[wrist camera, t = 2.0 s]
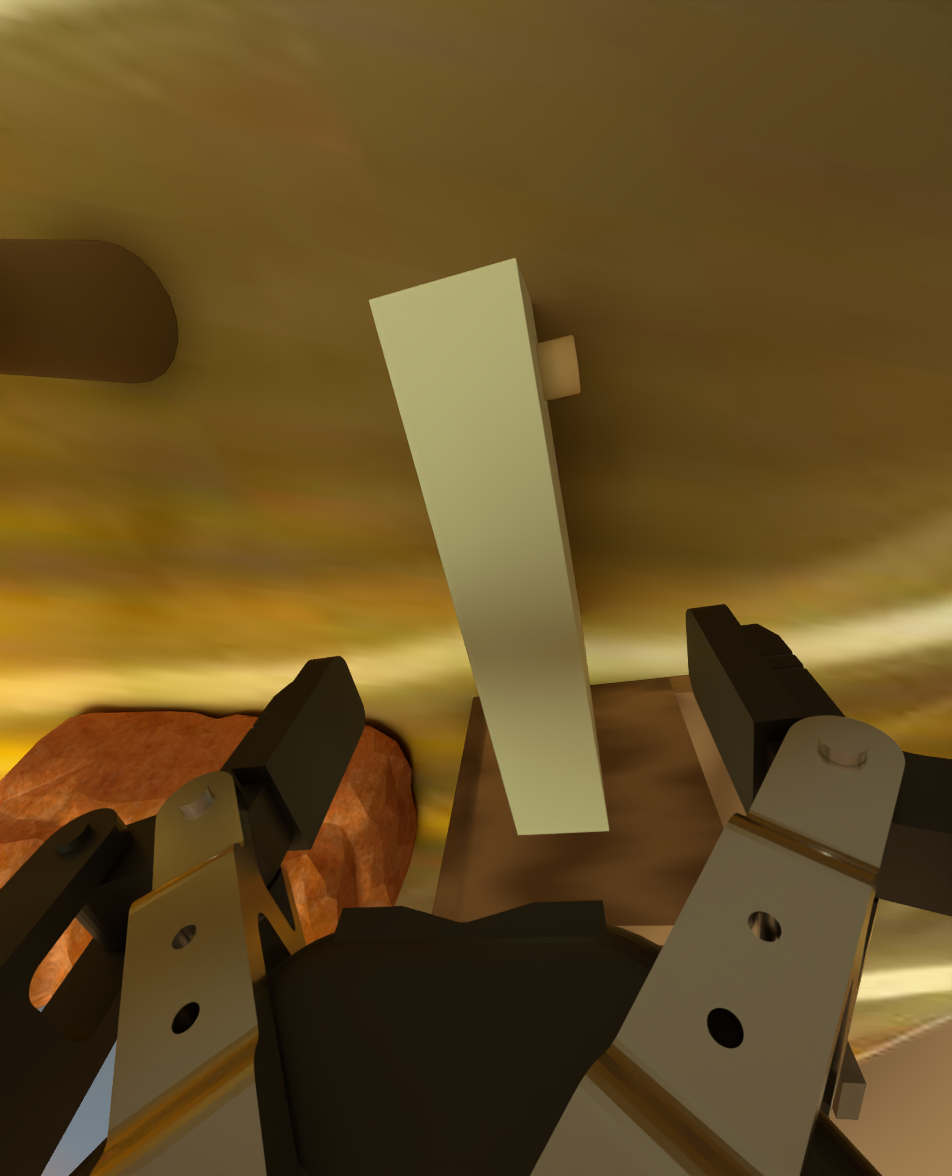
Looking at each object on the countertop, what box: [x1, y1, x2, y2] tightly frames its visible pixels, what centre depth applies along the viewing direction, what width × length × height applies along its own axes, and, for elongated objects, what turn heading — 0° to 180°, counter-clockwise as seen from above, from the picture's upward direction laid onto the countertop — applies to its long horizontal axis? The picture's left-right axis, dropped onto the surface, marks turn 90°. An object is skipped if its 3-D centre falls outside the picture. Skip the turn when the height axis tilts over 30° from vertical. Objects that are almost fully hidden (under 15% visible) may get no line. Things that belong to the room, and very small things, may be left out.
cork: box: [0, 239, 178, 383], centre depth 19 cm, size 6×6×11 cm
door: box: [369, 258, 609, 835], centre depth 19 cm, size 4×16×14 cm, turn 13°
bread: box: [0, 711, 417, 1009], centre depth 31 cm, size 14×26×16 cm, turn 93°
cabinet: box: [432, 675, 866, 1120], centre depth 28 cm, size 18×20×14 cm
